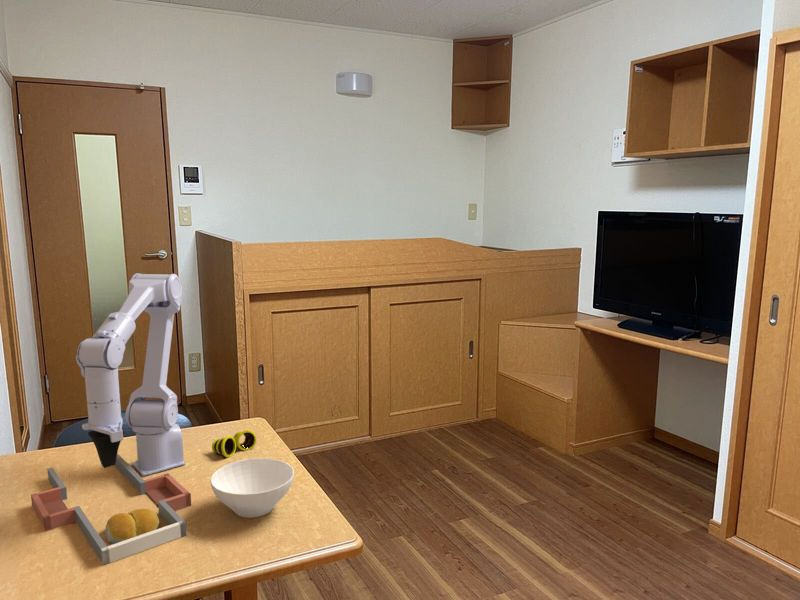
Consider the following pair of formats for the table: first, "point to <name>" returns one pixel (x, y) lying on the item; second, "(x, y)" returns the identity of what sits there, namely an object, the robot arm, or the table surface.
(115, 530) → the bread roll
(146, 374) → the robot arm
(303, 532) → the table surface
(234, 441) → the opera glasses
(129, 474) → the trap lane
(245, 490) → the bowl
